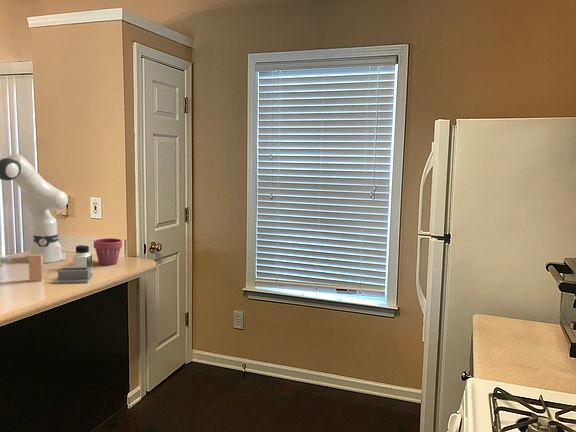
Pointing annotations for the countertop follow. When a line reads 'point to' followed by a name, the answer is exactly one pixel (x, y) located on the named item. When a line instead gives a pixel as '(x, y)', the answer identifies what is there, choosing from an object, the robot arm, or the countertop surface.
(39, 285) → the countertop surface
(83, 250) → the medicine bottle
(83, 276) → the rack
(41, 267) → the tall tan pillar block
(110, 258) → the plant pot
